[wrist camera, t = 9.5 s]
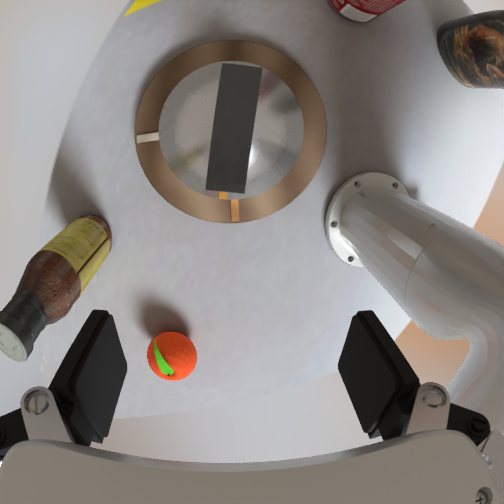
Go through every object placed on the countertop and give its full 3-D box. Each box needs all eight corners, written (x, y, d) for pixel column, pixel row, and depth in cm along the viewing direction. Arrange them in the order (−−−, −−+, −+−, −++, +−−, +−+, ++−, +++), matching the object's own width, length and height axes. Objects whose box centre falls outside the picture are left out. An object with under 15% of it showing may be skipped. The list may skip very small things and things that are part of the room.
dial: (171, 60, 22) (155, 38, 15) (308, 77, 24) (335, 61, 17) (156, 190, 28) (135, 209, 21) (288, 203, 30) (307, 226, 23)
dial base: (317, 48, 25) (324, 43, 22) (319, 213, 33) (325, 219, 31) (137, 56, 23) (131, 51, 21) (150, 224, 31) (145, 231, 29)
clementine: (139, 322, 37) (127, 356, 30) (182, 309, 36) (175, 345, 30) (166, 360, 40) (159, 394, 34) (206, 350, 40) (204, 386, 33)
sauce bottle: (67, 218, 30) (-36, 301, 12) (107, 208, 30) (4, 297, 12) (82, 264, 32) (3, 367, 14) (121, 257, 33) (49, 374, 14)
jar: (442, 8, 21) (509, -11, 7) (487, 54, 23) (551, 53, 10) (430, 56, 25) (510, 44, 11) (477, 103, 27) (550, 112, 14)
